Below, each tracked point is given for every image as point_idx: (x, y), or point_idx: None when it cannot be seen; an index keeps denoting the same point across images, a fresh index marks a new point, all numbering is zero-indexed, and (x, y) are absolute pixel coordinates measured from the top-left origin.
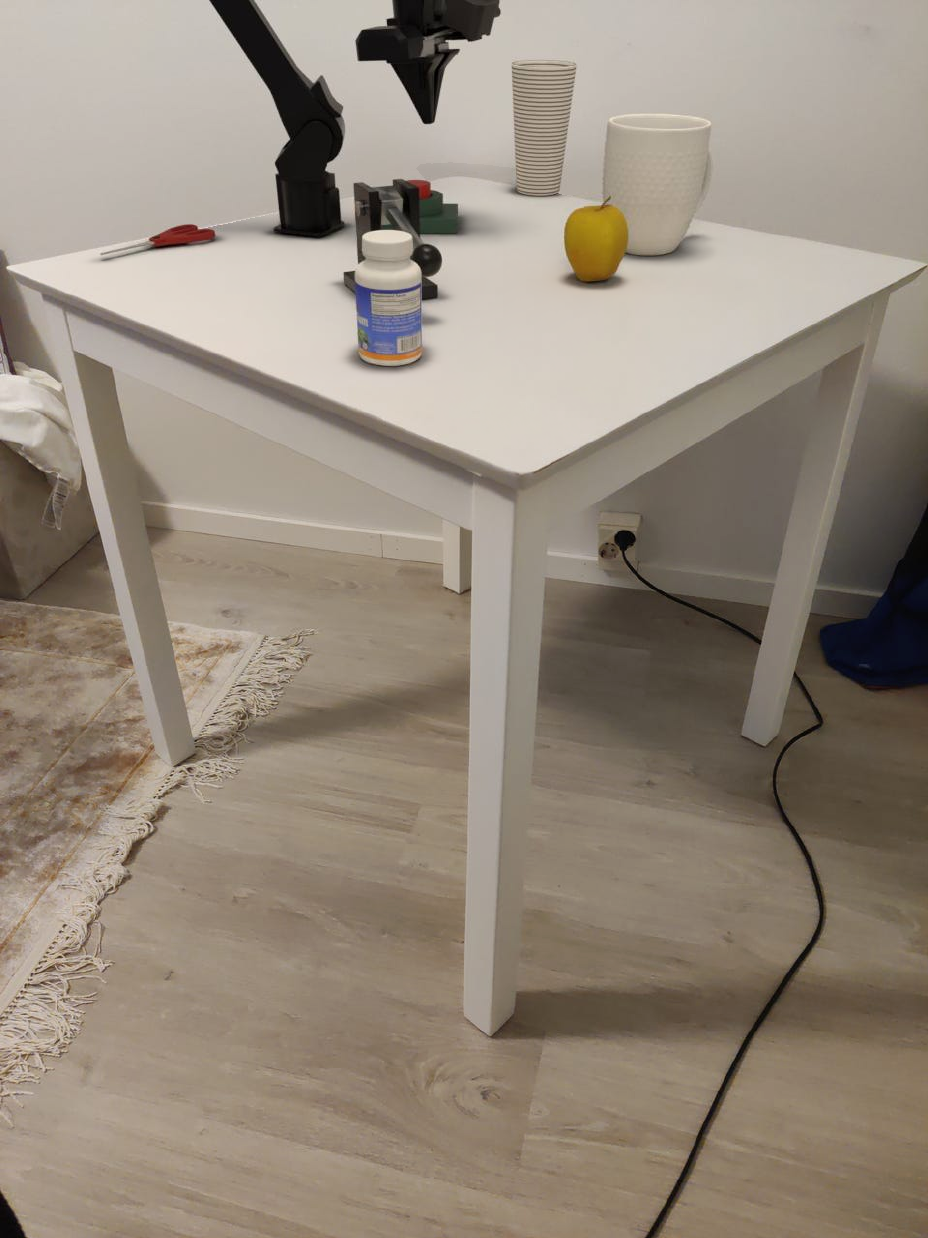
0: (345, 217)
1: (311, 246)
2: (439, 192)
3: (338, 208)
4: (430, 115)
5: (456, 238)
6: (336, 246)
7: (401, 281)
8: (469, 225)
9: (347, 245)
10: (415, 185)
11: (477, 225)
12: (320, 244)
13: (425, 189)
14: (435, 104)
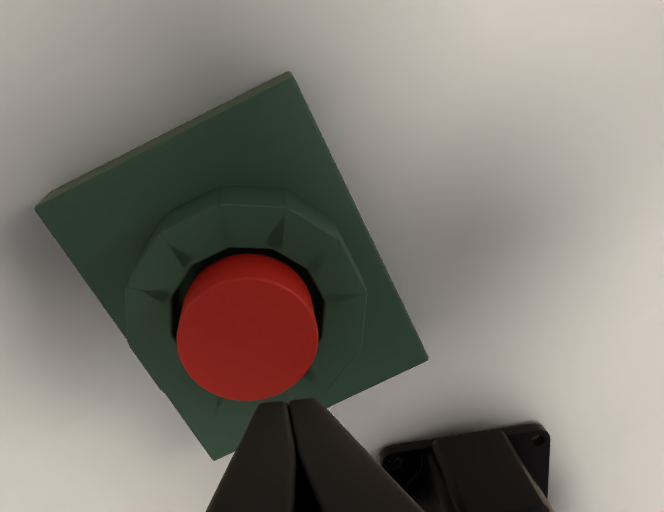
0: None
1: (626, 392)
2: (150, 256)
3: (464, 470)
4: (342, 427)
5: (350, 35)
6: (604, 337)
7: None
8: (133, 87)
9: (583, 317)
10: (300, 313)
11: (112, 56)
12: (598, 385)
13: (272, 272)
14: (275, 475)
